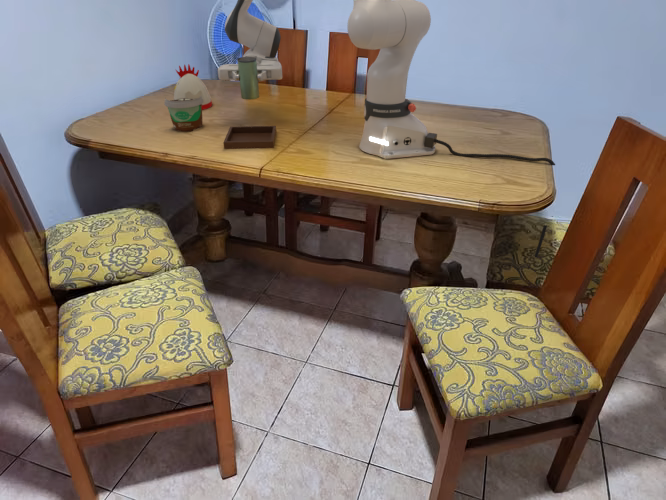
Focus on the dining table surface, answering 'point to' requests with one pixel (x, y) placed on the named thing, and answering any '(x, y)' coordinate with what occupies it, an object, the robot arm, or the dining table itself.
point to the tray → (250, 137)
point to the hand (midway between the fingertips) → (248, 77)
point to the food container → (185, 113)
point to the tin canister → (248, 78)
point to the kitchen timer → (191, 87)
